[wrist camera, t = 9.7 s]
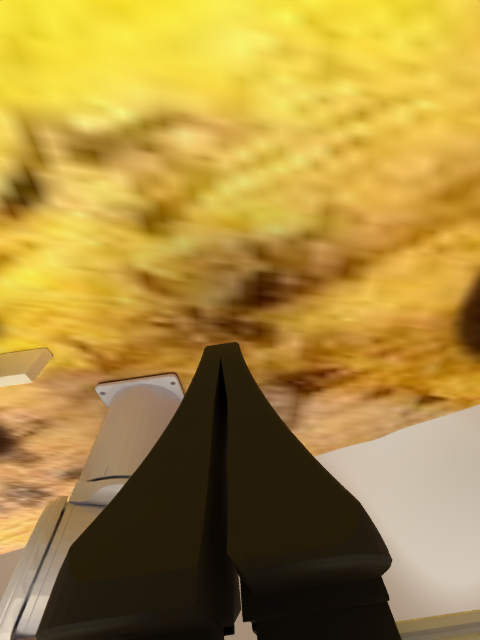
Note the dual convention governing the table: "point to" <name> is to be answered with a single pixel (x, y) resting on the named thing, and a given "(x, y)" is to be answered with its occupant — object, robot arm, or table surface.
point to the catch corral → (22, 366)
